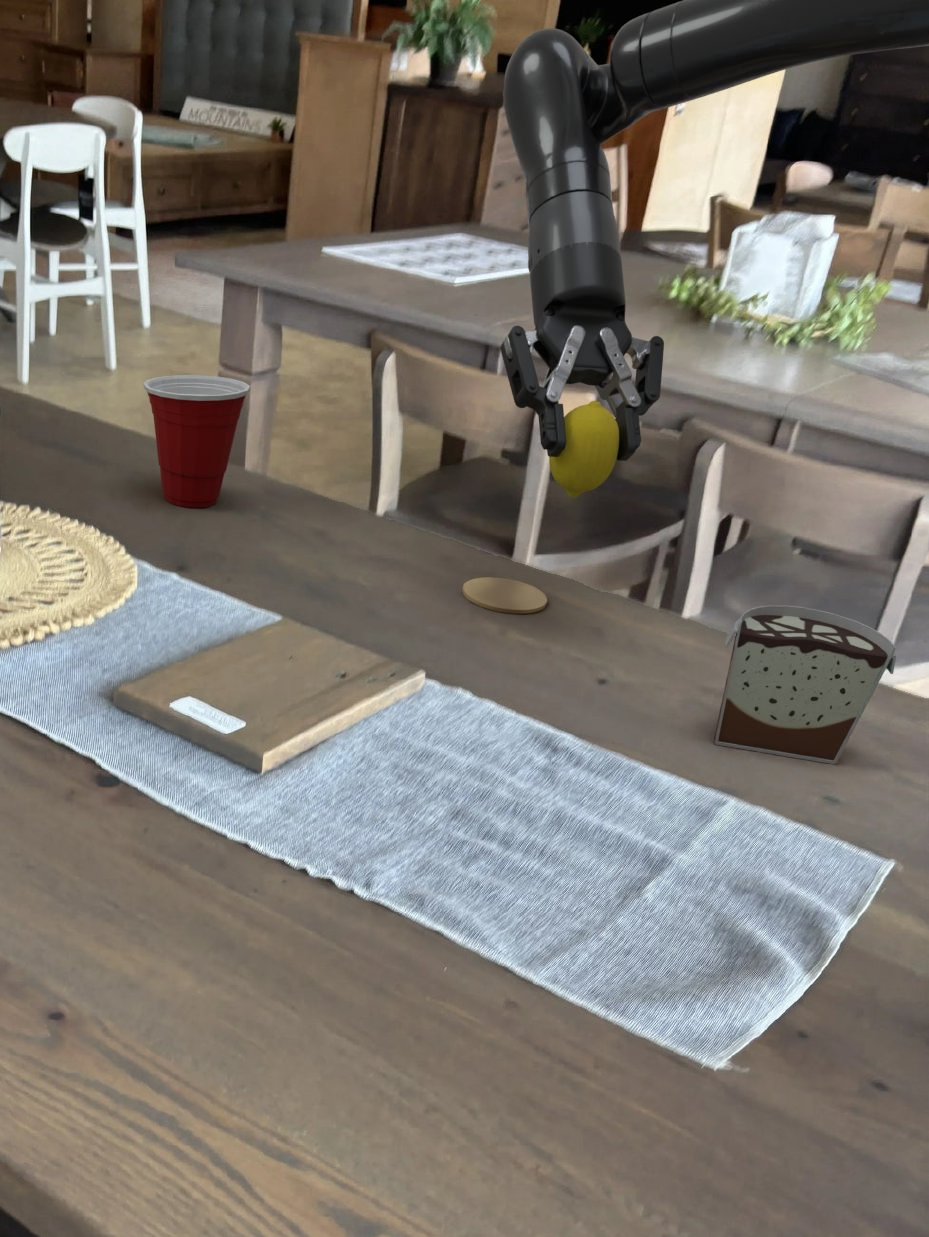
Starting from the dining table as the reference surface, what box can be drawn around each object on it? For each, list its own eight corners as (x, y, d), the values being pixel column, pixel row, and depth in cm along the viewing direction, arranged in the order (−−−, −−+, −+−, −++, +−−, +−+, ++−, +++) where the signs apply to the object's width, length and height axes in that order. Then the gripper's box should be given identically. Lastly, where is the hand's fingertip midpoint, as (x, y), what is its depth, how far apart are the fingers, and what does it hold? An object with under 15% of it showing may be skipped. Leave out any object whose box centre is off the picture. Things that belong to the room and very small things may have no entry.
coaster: (529, 582, 131) (530, 578, 131) (558, 615, 125) (559, 610, 124) (451, 579, 130) (452, 576, 129) (476, 612, 123) (477, 608, 123)
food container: (840, 733, 109) (886, 617, 103) (855, 767, 104) (903, 648, 98) (688, 708, 110) (724, 592, 105) (695, 741, 105) (733, 621, 100)
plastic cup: (186, 476, 148) (194, 362, 141) (260, 503, 143) (272, 387, 136) (116, 493, 141) (121, 374, 134) (191, 523, 136) (200, 401, 129)
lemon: (533, 499, 113) (556, 401, 108) (547, 482, 117) (569, 387, 112) (598, 513, 111) (623, 415, 107) (610, 496, 115) (635, 401, 111)
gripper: (511, 231, 108) (528, 427, 105) (675, 245, 111) (695, 436, 108) (478, 288, 115) (493, 472, 113) (632, 300, 118) (650, 480, 115)
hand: (592, 453), depth 110 cm, fingers closed on lemon, 5 cm apart
